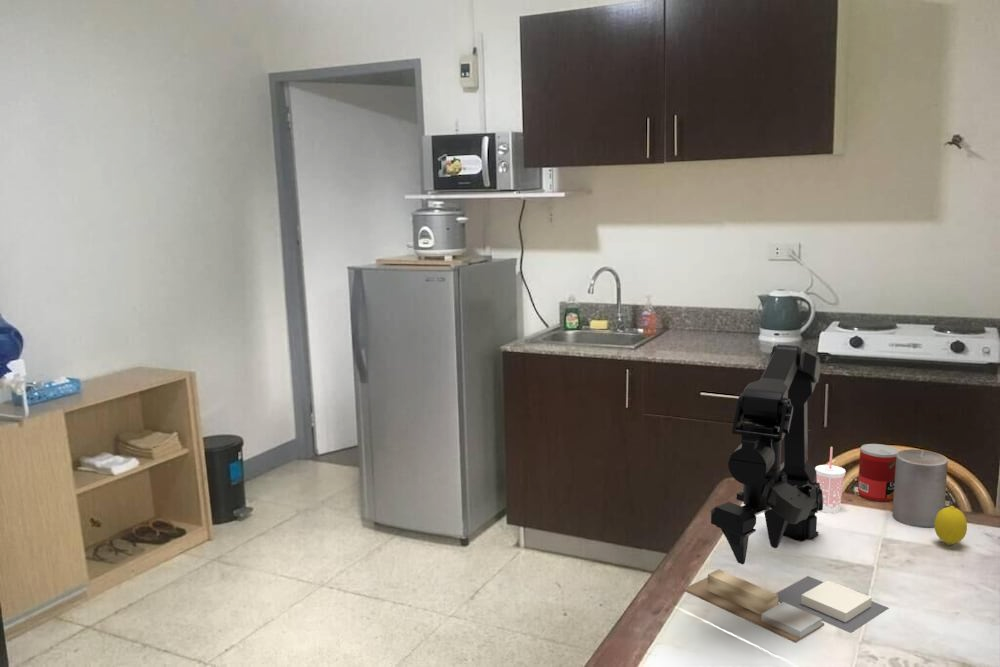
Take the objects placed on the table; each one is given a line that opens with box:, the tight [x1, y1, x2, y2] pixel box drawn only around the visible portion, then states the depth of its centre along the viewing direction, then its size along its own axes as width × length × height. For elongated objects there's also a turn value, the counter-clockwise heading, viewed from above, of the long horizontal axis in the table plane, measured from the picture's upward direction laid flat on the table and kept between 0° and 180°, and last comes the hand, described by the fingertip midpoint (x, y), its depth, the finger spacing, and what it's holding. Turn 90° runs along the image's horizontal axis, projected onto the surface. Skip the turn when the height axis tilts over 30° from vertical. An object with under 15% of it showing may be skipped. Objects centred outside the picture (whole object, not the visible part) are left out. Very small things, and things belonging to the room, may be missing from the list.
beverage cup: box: [814, 446, 846, 514], centre depth 182 cm, size 6×6×14 cm
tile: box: [801, 580, 873, 622], centre depth 141 cm, size 2×8×8 cm
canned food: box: [857, 443, 899, 503], centre depth 189 cm, size 8×8×11 cm
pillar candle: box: [892, 448, 949, 528], centre depth 176 cm, size 10×10×15 cm
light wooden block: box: [707, 569, 823, 638], centre depth 140 cm, size 19×6×3 cm, turn 38°
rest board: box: [683, 576, 825, 643], centre depth 142 cm, size 22×8×1 cm, turn 38°
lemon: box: [934, 505, 968, 546], centre depth 164 cm, size 6×6×8 cm
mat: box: [775, 575, 890, 634], centre depth 143 cm, size 15×12×1 cm
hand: (758, 555), depth 139 cm, fingers open, 9 cm apart
